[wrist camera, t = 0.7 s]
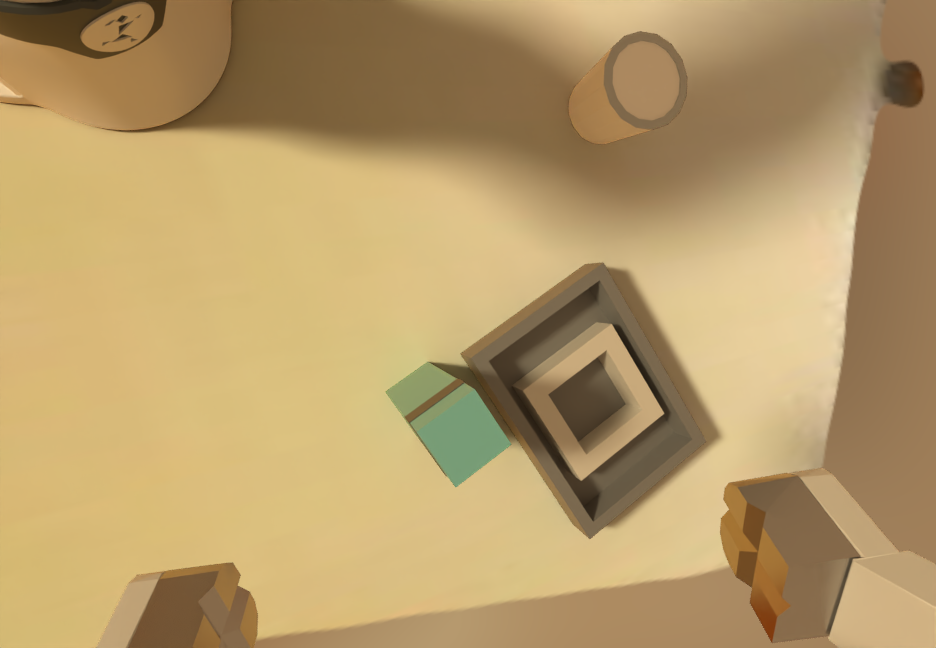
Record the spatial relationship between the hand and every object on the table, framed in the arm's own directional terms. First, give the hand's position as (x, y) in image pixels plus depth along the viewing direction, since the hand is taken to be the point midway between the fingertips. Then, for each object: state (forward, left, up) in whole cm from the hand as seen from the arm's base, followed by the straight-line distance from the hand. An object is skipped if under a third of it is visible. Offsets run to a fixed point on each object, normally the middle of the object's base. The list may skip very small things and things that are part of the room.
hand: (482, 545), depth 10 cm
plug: (+7, +3, -35) cm, 36 cm away
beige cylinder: (-4, +28, -35) cm, 45 cm away
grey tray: (+15, +14, -35) cm, 40 cm away
